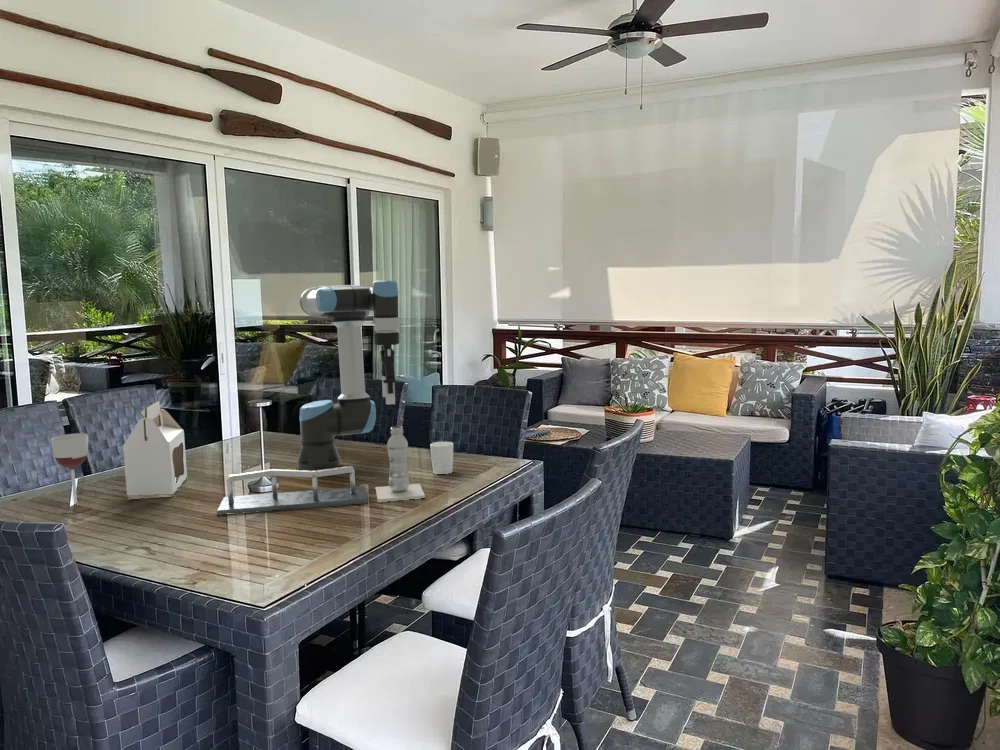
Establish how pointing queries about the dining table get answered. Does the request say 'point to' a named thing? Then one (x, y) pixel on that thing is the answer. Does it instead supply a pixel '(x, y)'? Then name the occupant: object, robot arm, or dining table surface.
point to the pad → (399, 493)
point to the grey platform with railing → (292, 498)
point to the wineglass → (70, 453)
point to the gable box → (155, 454)
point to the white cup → (442, 457)
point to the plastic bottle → (398, 460)
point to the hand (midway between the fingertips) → (388, 400)
